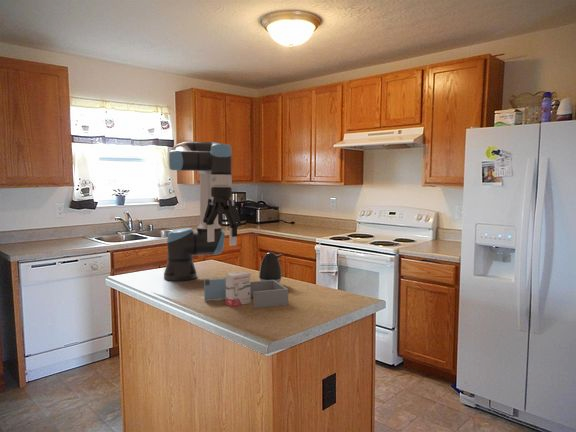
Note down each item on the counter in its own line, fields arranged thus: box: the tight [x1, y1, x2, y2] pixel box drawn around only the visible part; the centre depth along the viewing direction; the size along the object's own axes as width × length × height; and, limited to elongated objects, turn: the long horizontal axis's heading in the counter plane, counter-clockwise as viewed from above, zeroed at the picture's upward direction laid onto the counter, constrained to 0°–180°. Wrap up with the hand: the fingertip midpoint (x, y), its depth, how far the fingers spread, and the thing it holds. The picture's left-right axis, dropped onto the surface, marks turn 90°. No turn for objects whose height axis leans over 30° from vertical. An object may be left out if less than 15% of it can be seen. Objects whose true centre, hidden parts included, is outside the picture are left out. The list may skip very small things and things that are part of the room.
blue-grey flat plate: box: [203, 277, 226, 301], centre depth 166 cm, size 13×1×8 cm, turn 112°
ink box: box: [225, 270, 252, 308], centre depth 160 cm, size 9×5×12 cm, turn 130°
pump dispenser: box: [258, 251, 283, 283], centre depth 188 cm, size 10×10×15 cm
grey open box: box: [250, 280, 289, 309], centre depth 164 cm, size 16×15×9 cm
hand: (221, 243), depth 157 cm, fingers open, 13 cm apart
